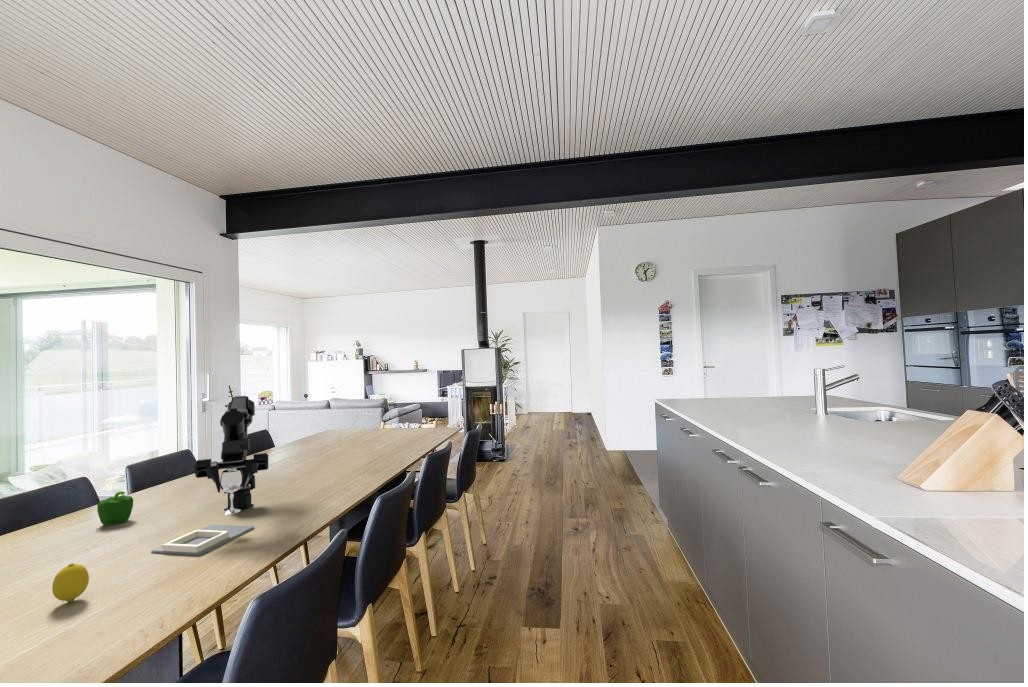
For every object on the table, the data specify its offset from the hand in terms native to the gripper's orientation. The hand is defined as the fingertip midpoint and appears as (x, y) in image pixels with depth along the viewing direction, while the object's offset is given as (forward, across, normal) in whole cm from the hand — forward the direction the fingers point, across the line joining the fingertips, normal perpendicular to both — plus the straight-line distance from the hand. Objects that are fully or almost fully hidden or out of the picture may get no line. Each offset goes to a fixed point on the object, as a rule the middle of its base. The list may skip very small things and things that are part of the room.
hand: (231, 490), depth 129 cm
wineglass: (+4, 0, +6) cm, 7 cm away
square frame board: (+9, -6, +10) cm, 15 cm away
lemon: (+26, -27, -8) cm, 39 cm away
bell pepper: (-14, -34, +34) cm, 50 cm away
